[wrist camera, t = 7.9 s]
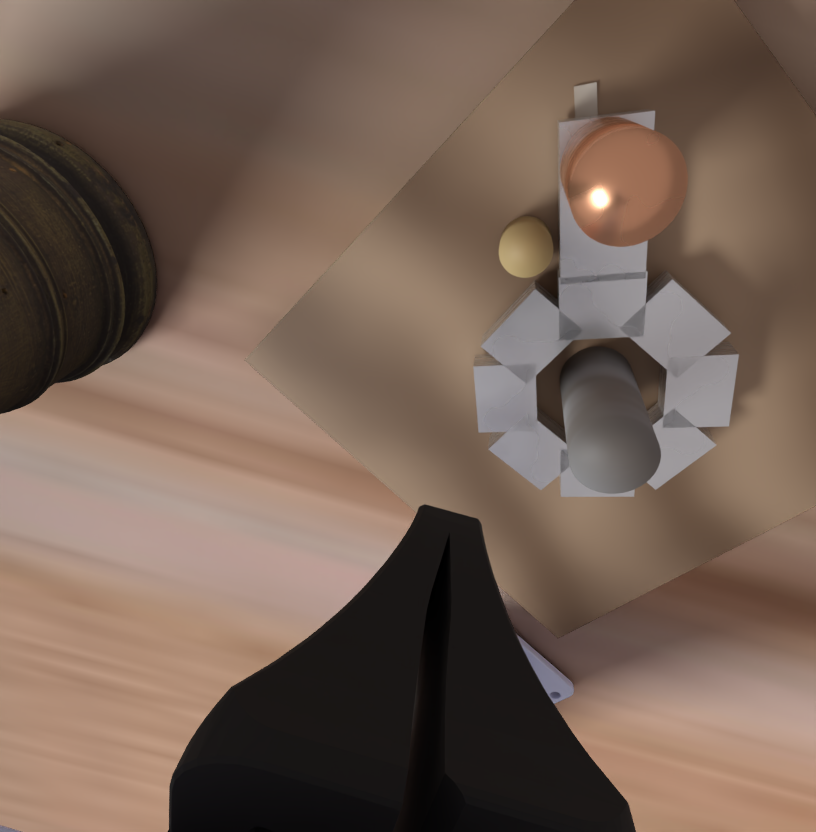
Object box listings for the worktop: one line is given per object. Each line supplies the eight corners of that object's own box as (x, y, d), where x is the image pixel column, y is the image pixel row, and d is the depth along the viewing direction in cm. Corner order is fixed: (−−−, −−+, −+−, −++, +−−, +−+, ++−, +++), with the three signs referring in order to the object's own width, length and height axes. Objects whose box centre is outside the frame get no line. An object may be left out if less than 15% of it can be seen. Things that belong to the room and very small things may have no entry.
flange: (711, 479, 22) (758, 582, 17) (485, 481, 23) (476, 575, 19) (761, 94, 16) (851, 101, 12) (458, 132, 18) (435, 151, 13)
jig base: (556, 617, 28) (564, 744, 23) (256, 348, 24) (179, 426, 19) (992, 384, 20) (1164, 497, 15) (655, -87, 16) (722, -170, 10)
